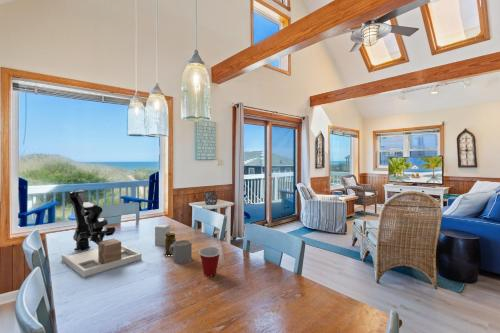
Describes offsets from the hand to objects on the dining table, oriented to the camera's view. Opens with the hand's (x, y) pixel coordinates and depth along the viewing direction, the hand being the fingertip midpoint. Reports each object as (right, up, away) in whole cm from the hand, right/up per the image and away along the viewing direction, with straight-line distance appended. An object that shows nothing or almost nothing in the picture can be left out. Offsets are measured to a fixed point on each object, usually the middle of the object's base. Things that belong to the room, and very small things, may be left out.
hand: (101, 246), depth 143 cm
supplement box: (+25, -7, +27) cm, 38 cm away
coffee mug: (+45, -8, +1) cm, 45 cm away
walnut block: (+9, -6, -7) cm, 13 cm away
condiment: (+36, -8, +9) cm, 38 cm away
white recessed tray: (0, -8, 0) cm, 8 cm away
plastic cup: (+65, -8, -18) cm, 68 cm away
